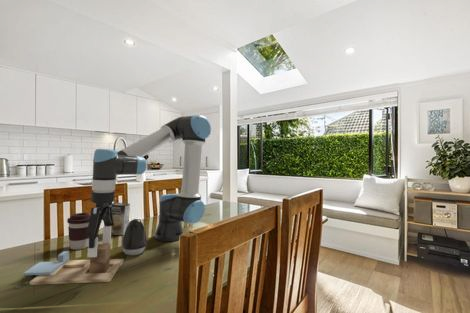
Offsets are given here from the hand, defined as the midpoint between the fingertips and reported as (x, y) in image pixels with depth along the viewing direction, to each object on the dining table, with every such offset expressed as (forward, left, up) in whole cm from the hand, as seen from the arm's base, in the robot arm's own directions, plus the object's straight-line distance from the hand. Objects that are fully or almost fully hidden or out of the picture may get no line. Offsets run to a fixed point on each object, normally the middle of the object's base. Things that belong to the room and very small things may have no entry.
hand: (99, 249), depth 89 cm
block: (0, 0, -8) cm, 8 cm away
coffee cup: (+18, -26, -9) cm, 33 cm away
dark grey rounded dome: (-8, -17, -9) cm, 21 cm away
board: (+6, 0, -9) cm, 10 cm away
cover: (+18, -2, -7) cm, 19 cm away
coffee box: (+7, -46, -9) cm, 48 cm away
